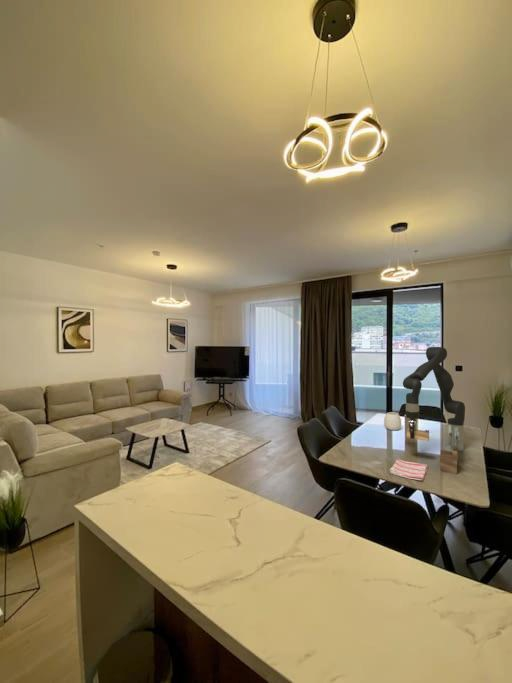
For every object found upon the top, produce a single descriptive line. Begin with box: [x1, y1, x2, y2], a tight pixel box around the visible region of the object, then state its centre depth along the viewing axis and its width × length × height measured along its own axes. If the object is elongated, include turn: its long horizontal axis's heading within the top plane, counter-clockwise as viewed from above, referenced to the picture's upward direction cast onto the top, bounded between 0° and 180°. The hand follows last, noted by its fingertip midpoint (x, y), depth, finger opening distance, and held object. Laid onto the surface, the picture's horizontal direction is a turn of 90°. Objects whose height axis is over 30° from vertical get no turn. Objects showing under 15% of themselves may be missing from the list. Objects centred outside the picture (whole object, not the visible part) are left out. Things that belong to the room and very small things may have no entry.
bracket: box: [444, 424, 459, 463], centre depth 187 cm, size 28×7×20 cm, turn 148°
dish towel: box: [389, 458, 429, 483], centre depth 172 cm, size 17×23×4 cm
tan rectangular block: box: [406, 427, 430, 442], centre depth 185 cm, size 4×12×6 cm, turn 57°
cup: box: [383, 411, 402, 431], centre depth 252 cm, size 13×13×14 cm
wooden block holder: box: [439, 446, 458, 475], centre depth 173 cm, size 11×8×14 cm
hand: (412, 437), depth 187 cm, fingers closed on tan rectangular block, 4 cm apart
